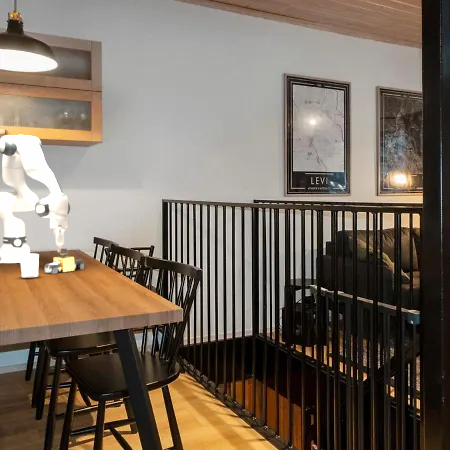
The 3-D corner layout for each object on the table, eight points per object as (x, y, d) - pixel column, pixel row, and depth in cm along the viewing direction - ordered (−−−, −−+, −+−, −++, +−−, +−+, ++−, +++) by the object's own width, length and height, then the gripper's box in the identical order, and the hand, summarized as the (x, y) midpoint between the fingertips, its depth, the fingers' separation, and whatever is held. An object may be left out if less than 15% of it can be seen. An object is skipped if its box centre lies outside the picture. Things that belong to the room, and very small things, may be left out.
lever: (67, 254, 230) (67, 251, 230) (60, 254, 229) (60, 251, 229) (67, 251, 243) (67, 248, 243) (61, 251, 242) (61, 248, 242)
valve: (52, 275, 222) (52, 257, 221) (43, 274, 225) (42, 256, 225) (85, 269, 239) (85, 253, 238) (76, 268, 242) (76, 252, 242)
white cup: (32, 278, 210) (32, 256, 210) (16, 277, 212) (16, 255, 211) (42, 275, 218) (42, 254, 218) (27, 275, 220) (27, 253, 219)
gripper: (66, 225, 229) (67, 254, 230) (64, 223, 248) (65, 249, 249) (52, 226, 227) (53, 254, 228) (52, 223, 246) (52, 250, 247)
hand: (59, 252), depth 238 cm, fingers closed, pressing on lever
